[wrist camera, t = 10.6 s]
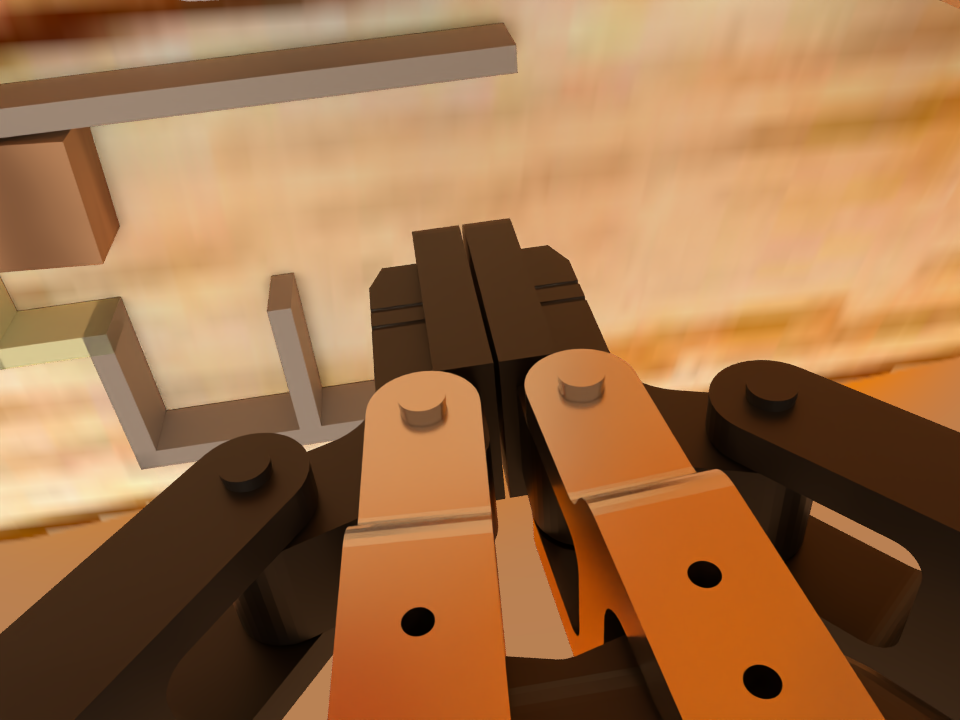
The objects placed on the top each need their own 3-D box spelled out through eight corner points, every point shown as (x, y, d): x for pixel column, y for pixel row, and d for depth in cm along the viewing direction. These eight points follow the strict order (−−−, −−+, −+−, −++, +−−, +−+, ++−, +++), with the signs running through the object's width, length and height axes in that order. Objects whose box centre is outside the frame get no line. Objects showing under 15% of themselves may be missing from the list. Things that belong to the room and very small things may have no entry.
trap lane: (503, 22, 39) (516, 45, 36) (524, 373, 52) (535, 410, 49) (-119, 98, 37) (-155, 128, 35) (60, 442, 50) (44, 484, 47)
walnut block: (85, 108, 39) (62, 141, 36) (120, 224, 43) (103, 264, 39) (-51, 117, 38) (-86, 151, 35) (-4, 234, 42) (-32, 274, 39)
